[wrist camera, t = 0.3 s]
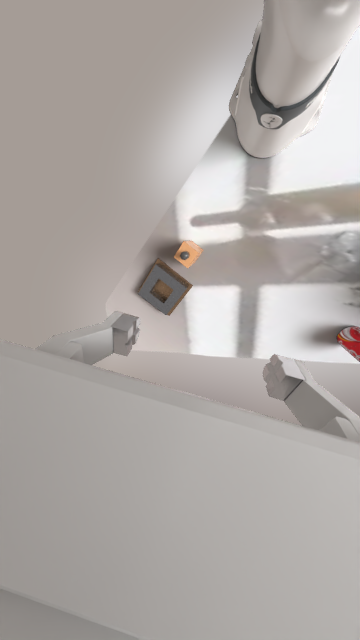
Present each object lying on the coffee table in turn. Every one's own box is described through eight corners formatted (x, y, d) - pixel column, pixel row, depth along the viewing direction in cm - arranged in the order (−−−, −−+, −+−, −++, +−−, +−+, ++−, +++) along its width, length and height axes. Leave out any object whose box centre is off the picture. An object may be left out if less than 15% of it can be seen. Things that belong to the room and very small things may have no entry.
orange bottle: (191, 240, 51) (181, 241, 38) (203, 250, 51) (197, 253, 38) (183, 253, 53) (171, 258, 40) (194, 262, 53) (186, 269, 40)
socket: (158, 258, 55) (154, 259, 52) (192, 285, 56) (191, 288, 53) (138, 291, 61) (134, 294, 58) (169, 315, 62) (167, 319, 59)
